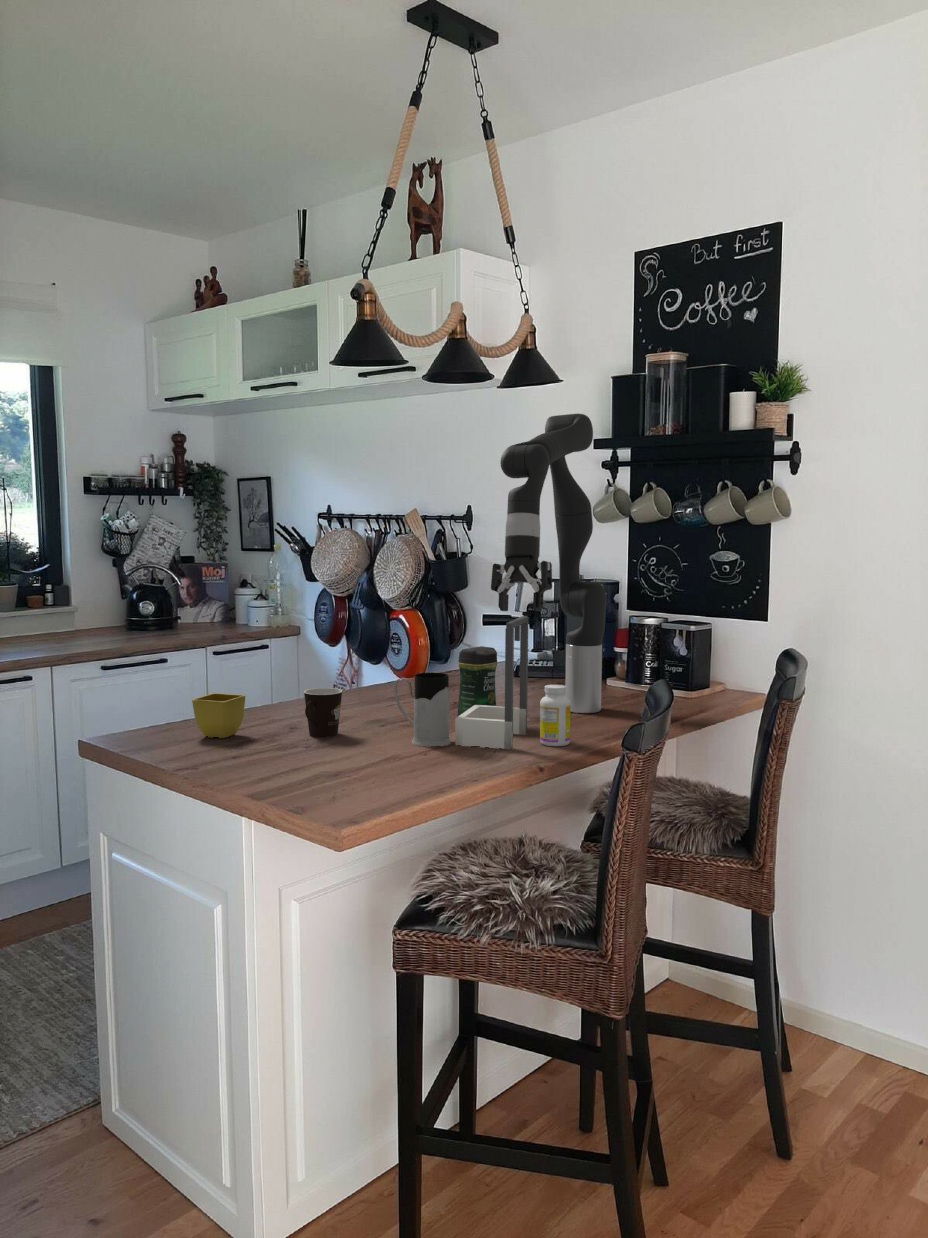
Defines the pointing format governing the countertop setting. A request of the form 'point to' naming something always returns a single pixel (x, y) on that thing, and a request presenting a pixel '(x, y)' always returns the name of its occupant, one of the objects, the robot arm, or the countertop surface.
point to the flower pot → (219, 714)
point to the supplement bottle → (555, 716)
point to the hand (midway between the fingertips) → (520, 610)
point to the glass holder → (429, 709)
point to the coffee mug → (323, 711)
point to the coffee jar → (477, 677)
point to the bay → (499, 721)
